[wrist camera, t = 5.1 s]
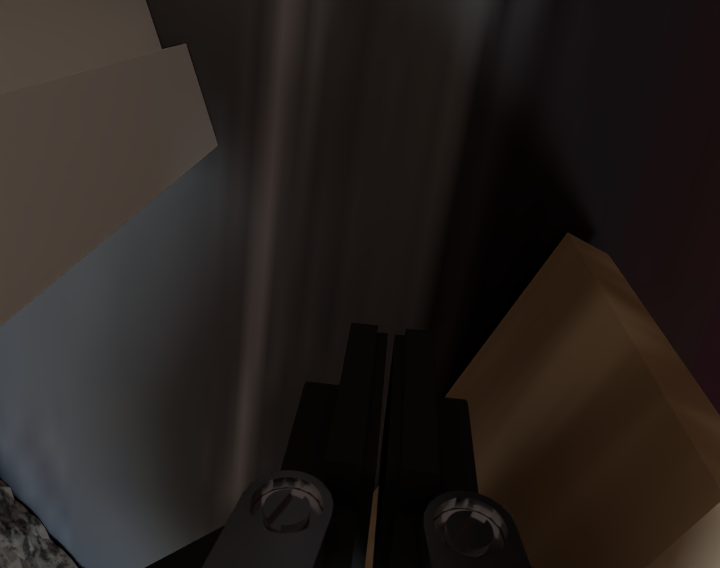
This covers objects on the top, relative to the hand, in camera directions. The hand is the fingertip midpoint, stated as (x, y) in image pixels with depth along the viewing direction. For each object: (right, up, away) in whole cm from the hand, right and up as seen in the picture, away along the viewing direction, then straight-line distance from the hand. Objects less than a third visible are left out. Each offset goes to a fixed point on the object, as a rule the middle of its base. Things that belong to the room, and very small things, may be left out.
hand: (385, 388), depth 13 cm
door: (+2, -3, +6) cm, 7 cm away
